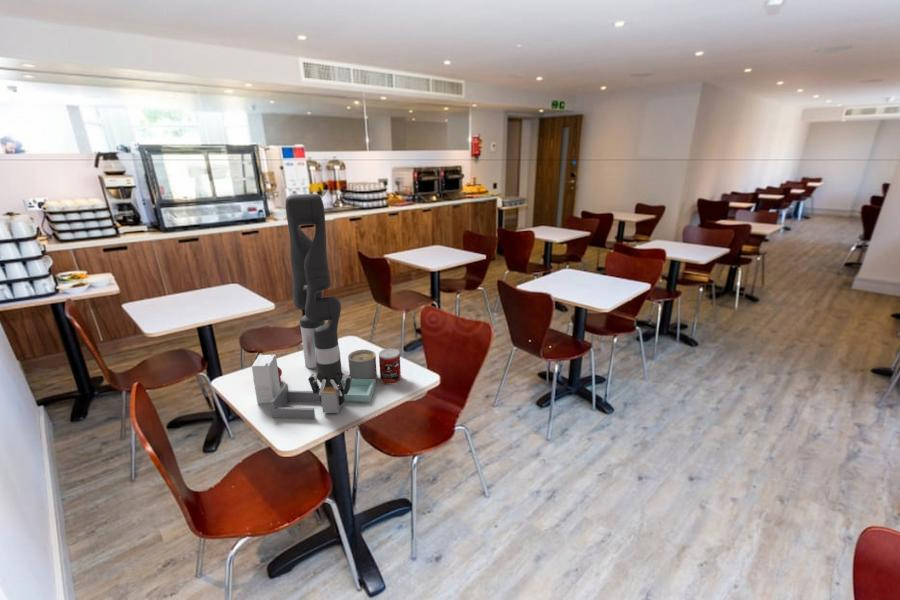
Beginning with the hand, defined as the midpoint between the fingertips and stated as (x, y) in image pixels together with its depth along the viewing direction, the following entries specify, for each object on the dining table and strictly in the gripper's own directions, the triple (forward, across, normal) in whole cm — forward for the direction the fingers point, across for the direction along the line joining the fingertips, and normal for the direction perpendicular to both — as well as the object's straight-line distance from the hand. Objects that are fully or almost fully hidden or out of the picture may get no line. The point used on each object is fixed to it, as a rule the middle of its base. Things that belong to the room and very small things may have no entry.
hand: (332, 403), depth 138 cm
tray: (+2, -4, -10) cm, 11 cm away
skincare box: (+3, +24, -6) cm, 25 cm away
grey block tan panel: (+1, 0, 0) cm, 1 cm away
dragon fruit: (+3, +29, -16) cm, 33 cm away
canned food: (+3, -15, -21) cm, 26 cm away
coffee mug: (+3, -4, -22) cm, 23 cm away
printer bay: (+2, +11, 0) cm, 12 cm away
